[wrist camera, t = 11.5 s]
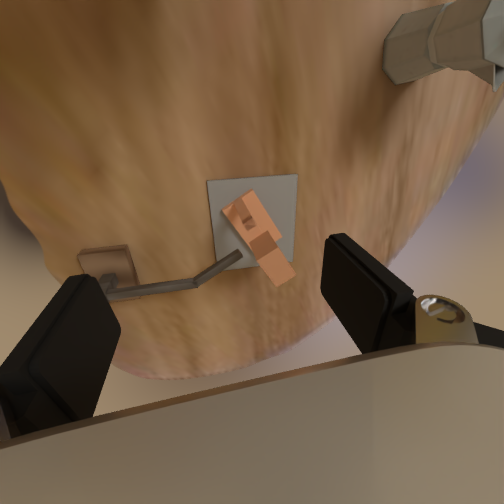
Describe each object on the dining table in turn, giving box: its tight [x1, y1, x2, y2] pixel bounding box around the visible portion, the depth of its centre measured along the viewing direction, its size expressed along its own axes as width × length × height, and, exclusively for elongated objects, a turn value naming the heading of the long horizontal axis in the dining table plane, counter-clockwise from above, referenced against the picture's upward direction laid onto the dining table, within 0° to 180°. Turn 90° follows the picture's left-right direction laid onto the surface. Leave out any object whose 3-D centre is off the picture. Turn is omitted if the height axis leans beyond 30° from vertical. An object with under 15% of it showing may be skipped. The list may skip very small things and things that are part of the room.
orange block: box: [222, 188, 296, 287], centre depth 36 cm, size 10×6×15 cm, turn 32°
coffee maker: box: [382, 0, 504, 92], centre depth 27 cm, size 15×9×18 cm, turn 11°
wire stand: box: [77, 245, 243, 303], centre depth 41 cm, size 10×26×8 cm, turn 92°
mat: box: [207, 174, 298, 271], centre depth 44 cm, size 17×15×1 cm
